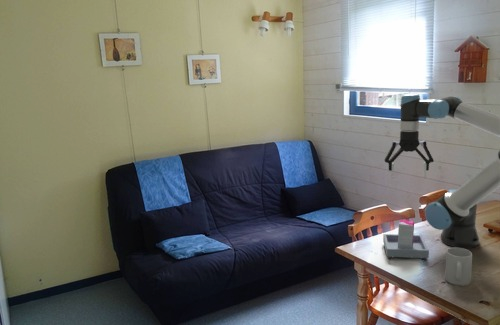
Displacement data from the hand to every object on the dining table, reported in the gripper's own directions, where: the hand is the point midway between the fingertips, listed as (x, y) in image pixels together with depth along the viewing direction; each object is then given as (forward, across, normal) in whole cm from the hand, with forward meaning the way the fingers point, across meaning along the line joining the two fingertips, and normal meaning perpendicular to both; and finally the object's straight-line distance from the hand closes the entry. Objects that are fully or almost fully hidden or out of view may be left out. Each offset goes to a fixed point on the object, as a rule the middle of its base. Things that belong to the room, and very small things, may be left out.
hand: (408, 177), depth 187 cm
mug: (+29, -12, +40) cm, 51 cm away
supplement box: (+27, +3, +16) cm, 31 cm away
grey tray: (+29, +3, +16) cm, 33 cm away
